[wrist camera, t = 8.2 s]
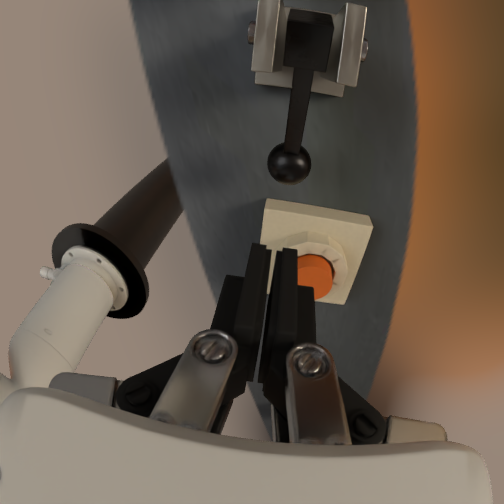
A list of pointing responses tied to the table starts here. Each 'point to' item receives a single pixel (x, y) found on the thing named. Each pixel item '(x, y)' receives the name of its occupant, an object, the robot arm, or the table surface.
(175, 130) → the table surface
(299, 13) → the switch
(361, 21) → the switch bracket
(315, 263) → the button
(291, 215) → the beige button base
